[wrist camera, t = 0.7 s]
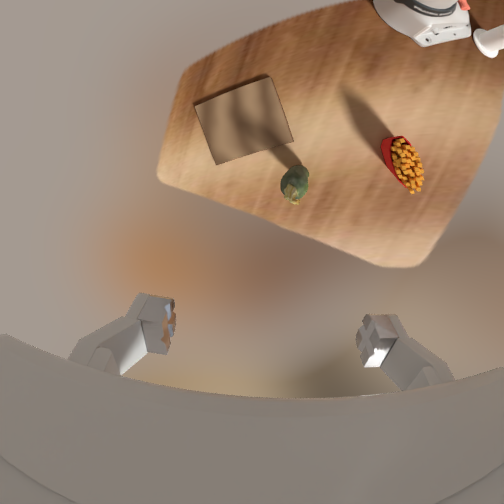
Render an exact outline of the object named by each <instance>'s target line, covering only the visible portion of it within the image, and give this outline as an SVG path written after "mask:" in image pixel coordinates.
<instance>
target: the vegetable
mask: <svg viewBox="0 0 504 504" xmlns="http://www.w3.org/2000/svg"><path fill="white" fill-rule="evenodd" d="M308 177H309V172H308V170H307V169H306V168H305V167H303V166H301V165H296V166H293V167H292V168H290V169H289V170H288V171H287V172H286V173H285V175H284V176H283V177H282V179H281V191H282V193H283V194H284V195H285V196H284V198H285V199H286V200H289V201H290V203H293V204H300V200H295V199H300V198H302V197H303V196H304V195H305V193H306V192H307V190H308Z"/></svg>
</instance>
